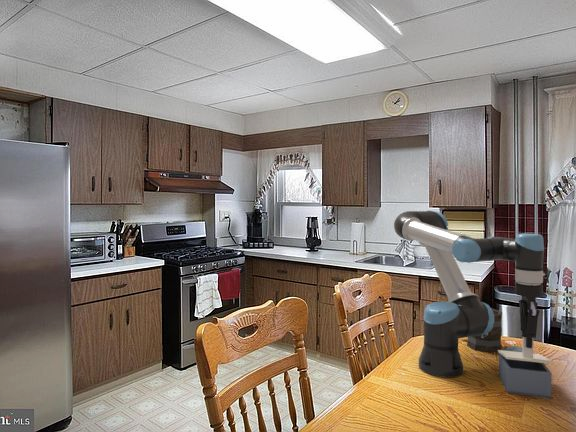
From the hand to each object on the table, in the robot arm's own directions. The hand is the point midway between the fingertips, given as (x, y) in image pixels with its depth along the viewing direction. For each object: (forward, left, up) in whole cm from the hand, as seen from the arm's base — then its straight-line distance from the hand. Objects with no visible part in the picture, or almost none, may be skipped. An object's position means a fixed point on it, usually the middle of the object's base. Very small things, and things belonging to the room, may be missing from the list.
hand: (527, 356), depth 125 cm
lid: (0, +4, -2) cm, 4 cm away
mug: (-9, +40, -12) cm, 43 cm away
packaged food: (+4, +27, -12) cm, 30 cm away
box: (0, +4, -11) cm, 12 cm away
